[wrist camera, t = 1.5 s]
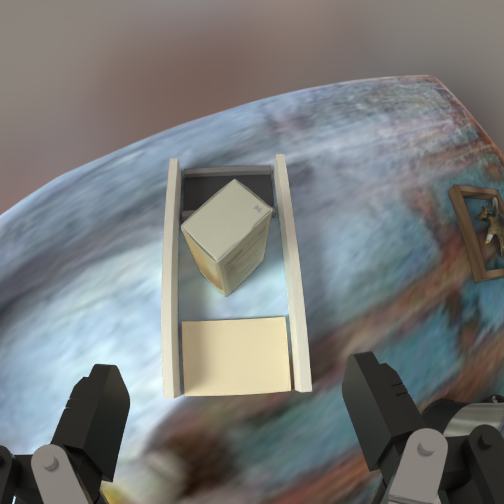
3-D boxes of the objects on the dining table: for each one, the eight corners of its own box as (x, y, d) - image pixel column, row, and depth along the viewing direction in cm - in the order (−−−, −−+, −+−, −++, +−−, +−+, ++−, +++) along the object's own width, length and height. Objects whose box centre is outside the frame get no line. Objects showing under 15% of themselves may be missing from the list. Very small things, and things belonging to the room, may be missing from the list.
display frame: (474, 282, 35) (483, 278, 33) (447, 191, 40) (454, 184, 38) (517, 275, 36) (524, 271, 34) (491, 195, 41) (498, 189, 39)
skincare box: (237, 236, 36) (237, 174, 24) (264, 260, 35) (277, 206, 23) (196, 273, 34) (176, 225, 23) (224, 300, 33) (216, 263, 22)
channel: (171, 395, 29) (163, 398, 26) (174, 175, 39) (169, 158, 35) (304, 388, 30) (311, 391, 26) (280, 170, 40) (284, 154, 36)
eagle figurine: (468, 236, 36) (509, 271, 33) (492, 196, 32) (534, 233, 29) (468, 225, 42) (504, 255, 38) (488, 190, 38) (525, 222, 34)
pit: (183, 221, 36) (181, 216, 35) (185, 174, 39) (184, 168, 38) (274, 217, 37) (275, 212, 36) (269, 170, 39) (270, 165, 38)
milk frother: (395, 434, 28) (477, 457, 14) (473, 350, 31) (554, 330, 18) (437, 497, 24) (508, 527, 10) (505, 417, 27) (578, 415, 14)
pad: (185, 395, 29) (184, 395, 29) (182, 322, 32) (181, 321, 32) (290, 390, 30) (290, 390, 29) (284, 317, 33) (285, 316, 32)
